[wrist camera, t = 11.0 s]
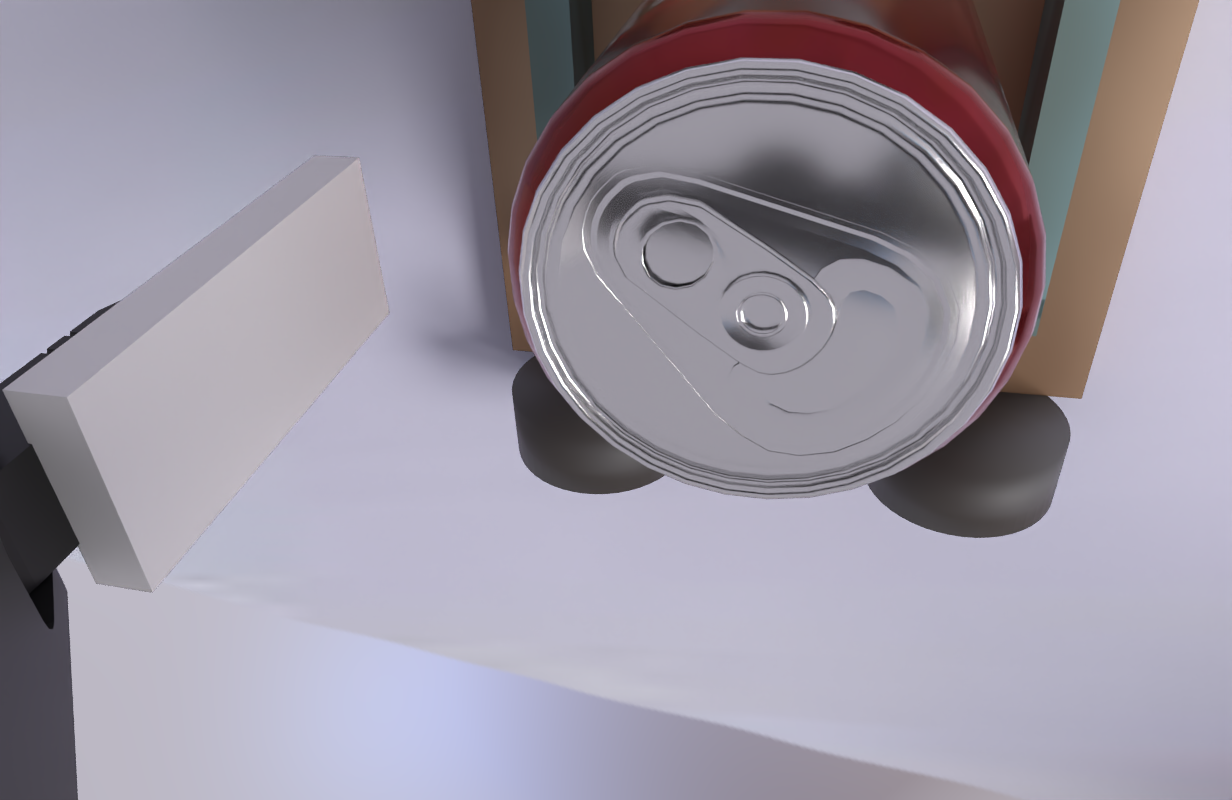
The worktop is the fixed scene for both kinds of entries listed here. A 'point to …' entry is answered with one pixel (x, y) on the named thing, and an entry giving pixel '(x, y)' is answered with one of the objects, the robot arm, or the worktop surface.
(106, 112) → the worktop surface
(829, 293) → the soda can
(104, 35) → the worktop surface
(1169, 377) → the worktop surface
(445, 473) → the worktop surface
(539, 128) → the chassis
